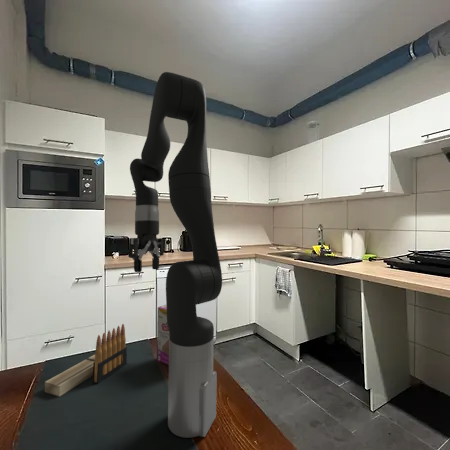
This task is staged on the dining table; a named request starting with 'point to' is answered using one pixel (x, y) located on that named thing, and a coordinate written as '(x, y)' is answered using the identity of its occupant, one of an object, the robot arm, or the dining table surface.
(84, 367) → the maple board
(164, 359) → the candy bar box
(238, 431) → the dining table surface
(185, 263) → the robot arm
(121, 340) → the ammunition clip
